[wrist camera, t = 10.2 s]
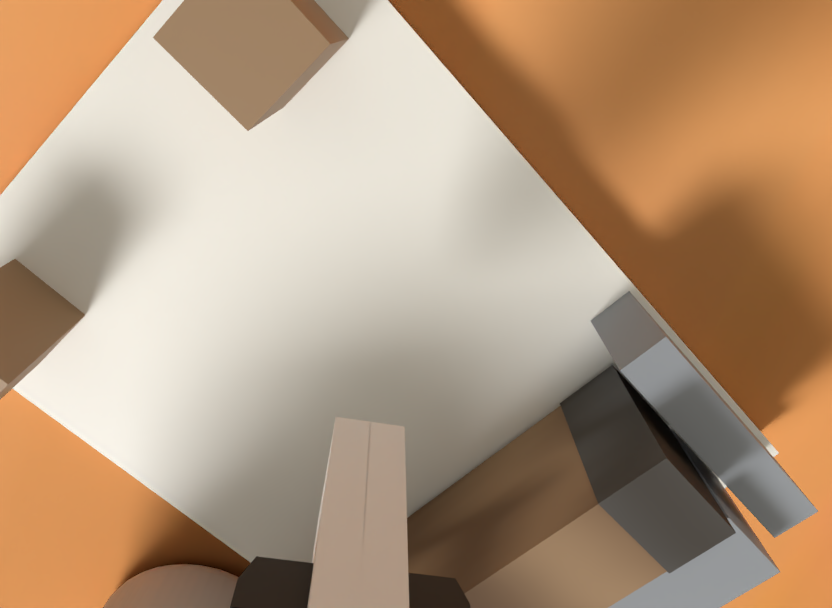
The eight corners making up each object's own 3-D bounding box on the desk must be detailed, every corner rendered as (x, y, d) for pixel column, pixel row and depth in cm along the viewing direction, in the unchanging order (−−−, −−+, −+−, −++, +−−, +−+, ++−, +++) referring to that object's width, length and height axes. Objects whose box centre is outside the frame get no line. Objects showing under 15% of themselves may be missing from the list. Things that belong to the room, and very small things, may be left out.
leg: (364, 636, 24) (353, 785, 20) (303, 591, 23) (276, 735, 19) (670, 428, 21) (746, 549, 16) (612, 364, 20) (674, 472, 15)
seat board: (-68, 293, 20) (-217, 378, 15) (282, -122, 16) (226, -184, 11) (418, 657, 27) (419, 797, 22) (761, 431, 22) (855, 543, 18)
